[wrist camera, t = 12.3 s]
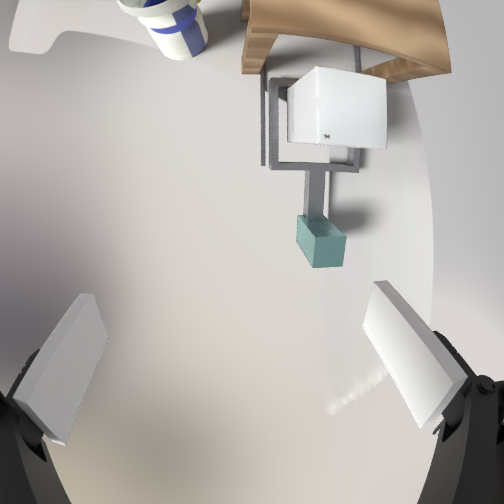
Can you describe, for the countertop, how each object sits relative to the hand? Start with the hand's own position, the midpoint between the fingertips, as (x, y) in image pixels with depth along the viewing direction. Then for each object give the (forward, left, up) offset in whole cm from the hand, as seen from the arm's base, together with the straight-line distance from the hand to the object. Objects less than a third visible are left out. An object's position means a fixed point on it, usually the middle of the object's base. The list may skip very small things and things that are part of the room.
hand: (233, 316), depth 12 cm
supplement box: (-11, +13, -33) cm, 37 cm away
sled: (-3, +13, -32) cm, 35 cm away
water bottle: (-25, -7, -33) cm, 42 cm away
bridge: (-24, +13, -33) cm, 43 cm away
